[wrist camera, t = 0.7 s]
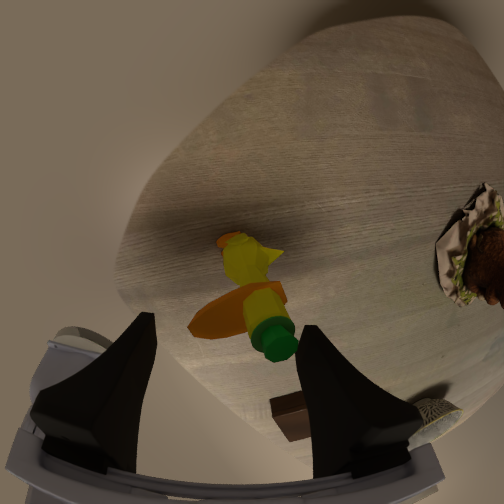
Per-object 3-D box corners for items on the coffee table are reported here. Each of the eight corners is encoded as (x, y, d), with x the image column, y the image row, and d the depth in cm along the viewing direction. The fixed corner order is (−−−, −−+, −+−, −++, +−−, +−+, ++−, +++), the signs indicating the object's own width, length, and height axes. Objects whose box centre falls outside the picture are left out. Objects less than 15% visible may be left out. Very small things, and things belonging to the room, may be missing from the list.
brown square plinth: (269, 399, 32) (272, 417, 30) (321, 384, 32) (327, 402, 29) (286, 426, 37) (289, 442, 34) (329, 414, 36) (334, 430, 33)
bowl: (379, 411, 38) (392, 444, 31) (453, 370, 36) (471, 398, 29) (381, 435, 45) (391, 462, 38) (442, 403, 43) (455, 427, 36)
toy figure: (200, 278, 23) (209, 401, 12) (180, 242, 21) (170, 359, 10) (275, 245, 23) (339, 350, 12) (260, 207, 21) (327, 296, 10)
